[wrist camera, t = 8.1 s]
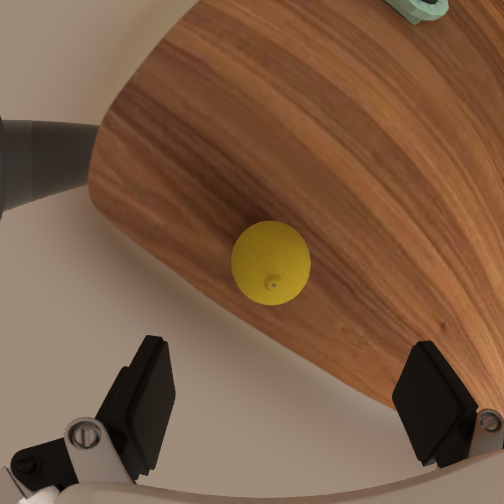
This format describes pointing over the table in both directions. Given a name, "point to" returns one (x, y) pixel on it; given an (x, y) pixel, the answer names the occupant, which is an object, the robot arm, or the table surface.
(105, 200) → the table surface
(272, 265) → the lemon
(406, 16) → the scale
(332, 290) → the table surface
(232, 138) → the table surface
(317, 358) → the table surface
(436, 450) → the robot arm
